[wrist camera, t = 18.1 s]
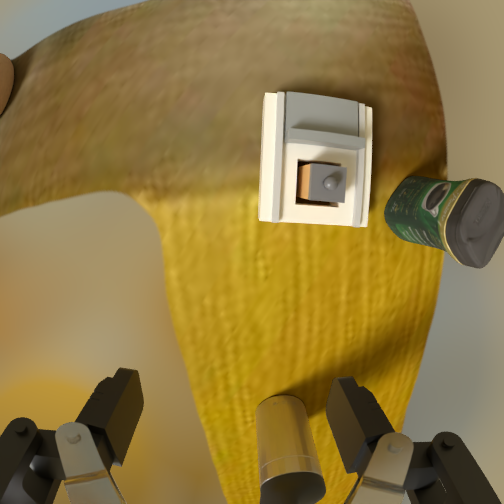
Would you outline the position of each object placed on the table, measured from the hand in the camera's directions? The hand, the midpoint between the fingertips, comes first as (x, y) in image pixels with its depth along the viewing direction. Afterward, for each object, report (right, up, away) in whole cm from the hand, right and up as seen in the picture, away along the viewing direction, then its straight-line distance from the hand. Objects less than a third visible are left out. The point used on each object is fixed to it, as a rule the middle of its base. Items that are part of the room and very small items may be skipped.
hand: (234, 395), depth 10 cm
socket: (+9, +18, +26) cm, 33 cm away
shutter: (+9, +22, +21) cm, 32 cm away
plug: (+9, +15, +27) cm, 32 cm away
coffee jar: (+25, +13, +28) cm, 40 cm away
